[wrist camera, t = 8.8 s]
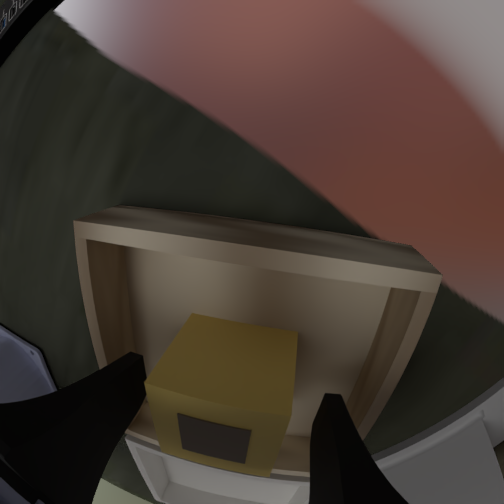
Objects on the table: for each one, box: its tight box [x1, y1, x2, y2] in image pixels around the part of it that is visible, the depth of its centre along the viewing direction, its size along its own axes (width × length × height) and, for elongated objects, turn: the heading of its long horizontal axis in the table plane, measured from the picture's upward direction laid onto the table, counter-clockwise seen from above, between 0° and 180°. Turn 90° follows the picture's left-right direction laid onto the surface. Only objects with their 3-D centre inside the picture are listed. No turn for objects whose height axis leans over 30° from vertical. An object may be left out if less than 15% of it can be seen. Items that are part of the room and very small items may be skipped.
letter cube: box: [144, 313, 298, 477], centre depth 10 cm, size 4×4×5 cm
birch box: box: [74, 205, 443, 477], centre depth 11 cm, size 12×12×3 cm
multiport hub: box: [0, 0, 64, 67], centre depth 8 cm, size 4×14×2 cm, turn 113°
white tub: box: [125, 434, 310, 504], centre depth 16 cm, size 12×12×3 cm
